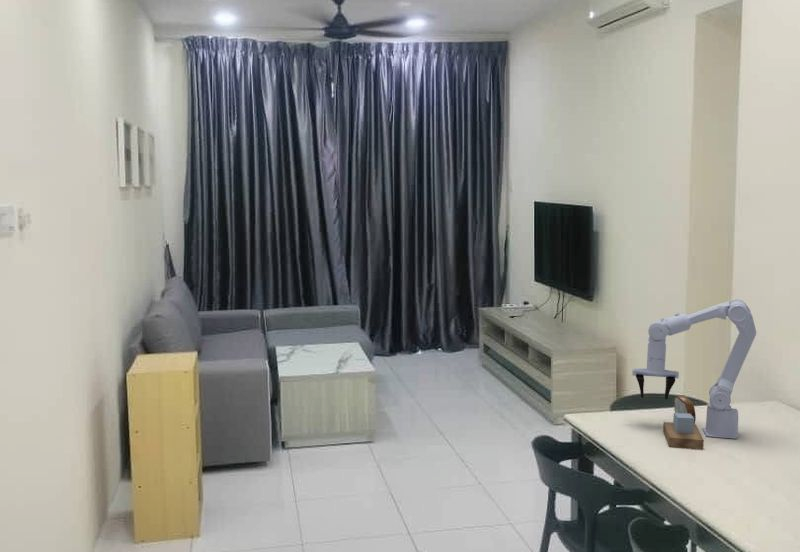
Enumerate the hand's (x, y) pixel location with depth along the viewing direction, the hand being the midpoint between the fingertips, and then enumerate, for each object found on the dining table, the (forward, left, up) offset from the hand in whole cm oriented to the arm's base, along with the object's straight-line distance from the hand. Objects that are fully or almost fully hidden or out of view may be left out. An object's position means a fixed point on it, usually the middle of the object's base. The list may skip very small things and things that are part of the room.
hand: (654, 397), depth 269 cm
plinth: (-8, +12, -10) cm, 17 cm away
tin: (-11, -8, -10) cm, 17 cm away
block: (-8, +12, -7) cm, 16 cm away
